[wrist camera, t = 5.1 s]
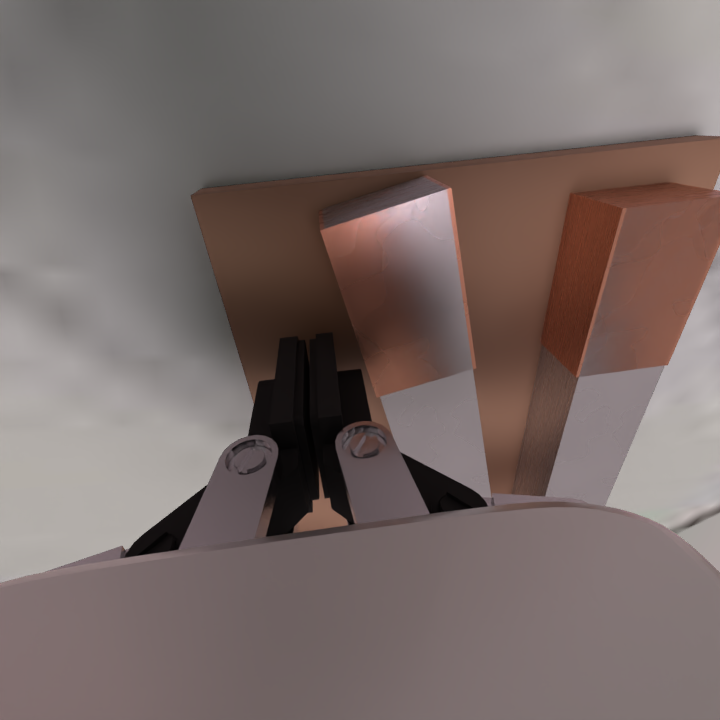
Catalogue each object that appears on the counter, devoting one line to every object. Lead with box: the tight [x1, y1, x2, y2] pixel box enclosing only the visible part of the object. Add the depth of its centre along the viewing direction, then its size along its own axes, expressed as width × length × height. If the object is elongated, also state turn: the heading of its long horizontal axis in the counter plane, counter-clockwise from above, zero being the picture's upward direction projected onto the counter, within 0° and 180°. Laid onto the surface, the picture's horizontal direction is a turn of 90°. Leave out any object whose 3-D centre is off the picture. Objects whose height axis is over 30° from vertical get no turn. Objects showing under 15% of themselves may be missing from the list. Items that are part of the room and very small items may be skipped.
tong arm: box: [319, 175, 491, 498], centre depth 14 cm, size 19×3×2 cm, turn 16°
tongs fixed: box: [511, 182, 720, 506], centre depth 16 cm, size 22×7×3 cm, turn 5°
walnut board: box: [191, 135, 720, 532], centre depth 17 cm, size 23×15×1 cm, turn 5°
